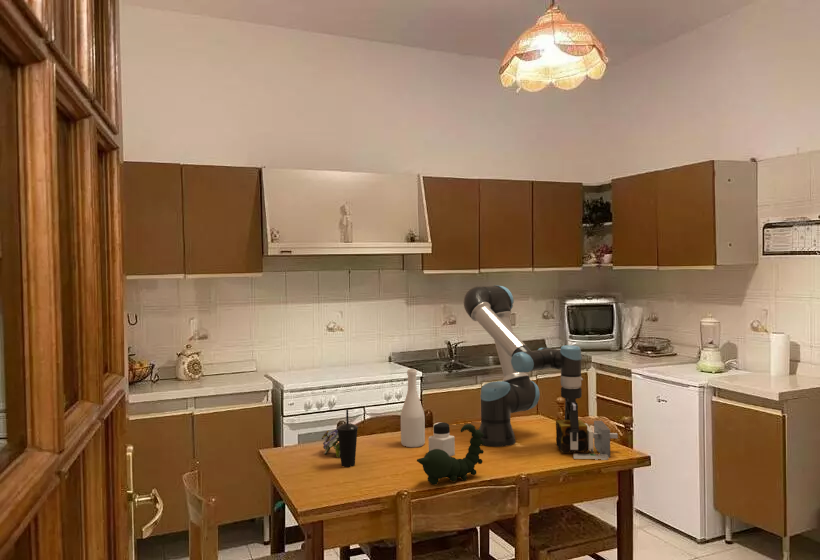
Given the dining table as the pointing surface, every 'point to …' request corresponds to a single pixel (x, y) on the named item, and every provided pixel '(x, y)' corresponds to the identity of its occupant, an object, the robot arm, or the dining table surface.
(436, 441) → the medicine bottle
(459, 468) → the toy figurine
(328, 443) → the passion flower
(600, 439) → the grey open frame block
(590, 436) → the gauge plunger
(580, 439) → the black and yellow cube
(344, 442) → the drinking cup
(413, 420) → the wine bottle
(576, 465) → the dining table surface
